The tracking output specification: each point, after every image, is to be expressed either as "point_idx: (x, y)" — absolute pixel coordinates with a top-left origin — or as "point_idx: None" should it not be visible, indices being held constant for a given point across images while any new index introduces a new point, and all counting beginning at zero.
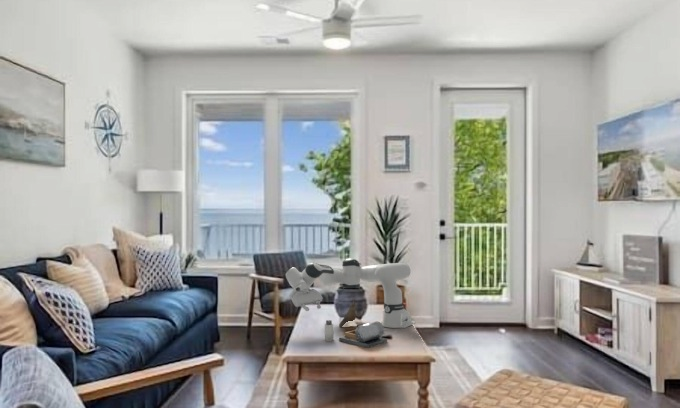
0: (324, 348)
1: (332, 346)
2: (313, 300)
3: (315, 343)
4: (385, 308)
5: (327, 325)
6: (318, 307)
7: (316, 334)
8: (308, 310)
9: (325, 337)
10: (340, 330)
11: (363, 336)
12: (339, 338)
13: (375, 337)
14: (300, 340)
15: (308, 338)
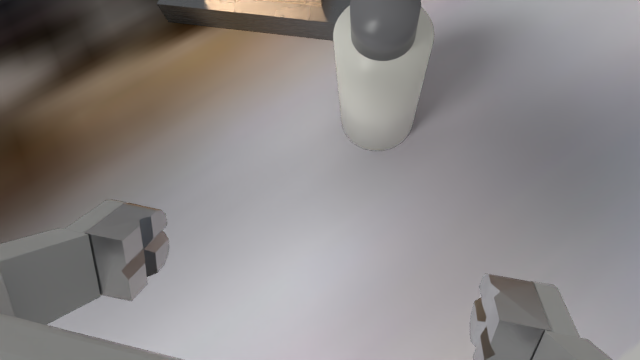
0: (595, 14)
1: (512, 3)
2: (110, 343)
3: (530, 145)
4: None
5: (430, 22)
6: (152, 241)
7: (268, 324)
8: (481, 299)
9: (414, 115)
10: (54, 217)
11: None
12: None
13: None
14: None
15: (434, 300)
